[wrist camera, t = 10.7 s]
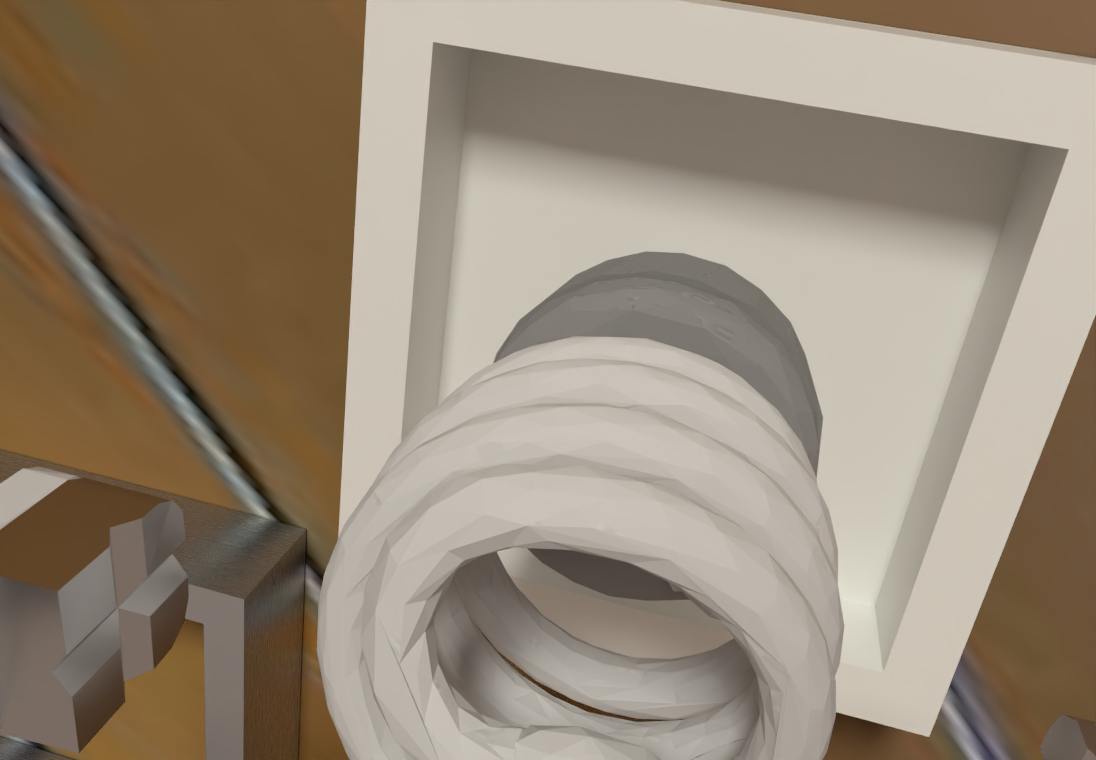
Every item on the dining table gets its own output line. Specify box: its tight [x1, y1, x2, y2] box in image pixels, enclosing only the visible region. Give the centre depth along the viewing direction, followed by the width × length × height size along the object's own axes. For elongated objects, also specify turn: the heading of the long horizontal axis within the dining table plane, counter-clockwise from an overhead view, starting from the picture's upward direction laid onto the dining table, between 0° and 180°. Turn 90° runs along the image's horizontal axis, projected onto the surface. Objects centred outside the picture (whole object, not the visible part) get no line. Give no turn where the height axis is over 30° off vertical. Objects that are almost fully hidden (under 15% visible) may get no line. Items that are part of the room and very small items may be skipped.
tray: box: [338, 0, 1096, 737], centre depth 18 cm, size 12×12×3 cm
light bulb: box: [317, 251, 844, 760], centre depth 14 cm, size 6×6×12 cm
